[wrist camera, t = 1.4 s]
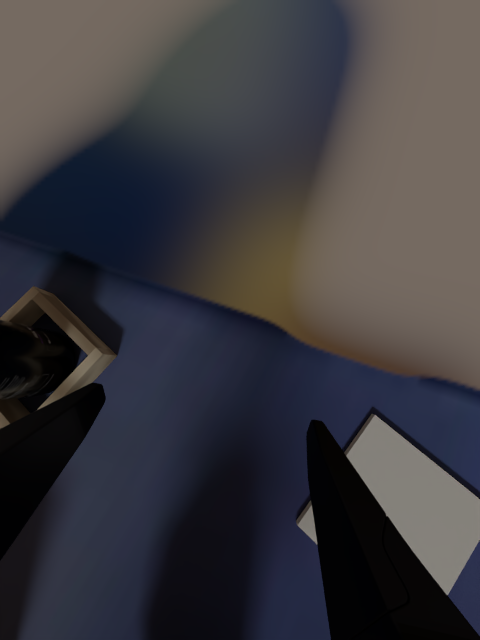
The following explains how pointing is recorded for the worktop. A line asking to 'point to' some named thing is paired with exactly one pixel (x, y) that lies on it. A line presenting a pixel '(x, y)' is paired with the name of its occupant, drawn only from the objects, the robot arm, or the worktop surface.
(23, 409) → the bottle holder
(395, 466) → the place mat
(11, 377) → the supplement bottle
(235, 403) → the worktop surface
